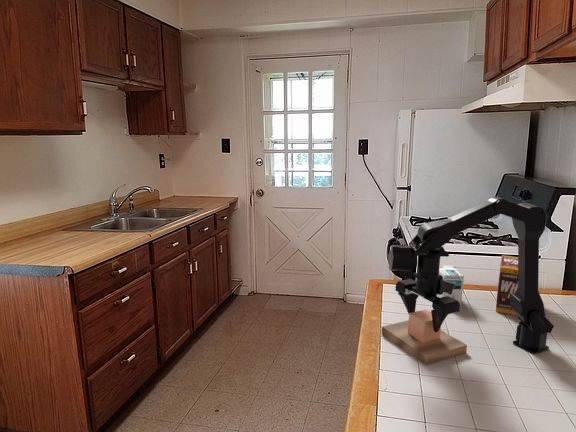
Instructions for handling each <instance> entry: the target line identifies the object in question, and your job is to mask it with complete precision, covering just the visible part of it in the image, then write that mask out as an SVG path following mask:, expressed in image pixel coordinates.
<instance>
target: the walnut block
mask: <svg viewBox="0 0 576 432" xmlns="http://www.w3.org/2000/svg"><path fill="white" fill-rule="evenodd" d="M408 323H409V319H408V320H403V321H400V322H396V323H391V324H387V325H383V326H381V335H382V336H383V337H385V338H386V339H388V340H389V341H391V342H392V343H394V344H395V345H397V346H398V347H399V348H401V349H402V350H404V351H405V352H407V353H408V354H410V355H411V356H413V357H414V358H415V359H416V360H418V361H419V362H421V363H422V364H424V365H425V366H429V365H431V364H435V363H439V362H441V361H444V360H447V359H452V358H454V357H458V356H461V355H465V354H467V348H468V345H467V344H466V343H464V342H462V341H461V340H459V339H457V338H456V337H454V336H452V335H450V334H448V333H446V332H445V331H443V330H442V329H441V330H440V338H439V339H435V340H431V341H427V342H424V343H423V342H421V341H419V340H418V339H416V338H415V337H413V336H412V335H410V334H409V333H408Z"/></svg>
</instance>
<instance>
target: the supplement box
mask: <svg viewBox="0 0 576 432" xmlns="http://www.w3.org/2000/svg"><path fill="white" fill-rule="evenodd" d="M497 283H498V284H497V292H496V293H497V294H496V301H495V312H497V313H501V314H507V315H512V316H517V315H516V314H515V313H514V312H513V311H512V308H511V307H510V306H509V304H510V295H509V294H510V293H515V292H516V290H517V289H518V256H511V255H501V259H500V266H499V273H498V282H497Z"/></svg>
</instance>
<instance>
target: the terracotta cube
mask: <svg viewBox="0 0 576 432" xmlns="http://www.w3.org/2000/svg"><path fill="white" fill-rule="evenodd" d="M408 320H409V323H408V333H409V334H410V335H412V336H413V337H415V338H416V339H418V340H419V341H421V342H423V343H424V342H427V341H431V340H435V339H439V338H440V330H441V331H442V329H441V328H442V327H440V329H439V331H438V332H434V329H433V322H432V314H431V310H427V309H422V310H418V311H417V310H415V312H412V313H409V314H408Z"/></svg>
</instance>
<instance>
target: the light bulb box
mask: <svg viewBox="0 0 576 432" xmlns="http://www.w3.org/2000/svg"><path fill="white" fill-rule="evenodd" d="M439 274H440V275H442V277H443V279H444V280H447V281H449V282H451V283H454V284H455V286H454V289H453V291H452V294H451V295H450V294H449V293H445V292H443V294H441V295H439V294H437V297H439V298H442V297H446V296H449V297H451V298H453V299H455V300H457V301H458V302H459V303H460V306H462V300H463V291H464V290H463V289H464V281H465V279H464V278H465V276H464V275H463V273H461V272H460V271H459V270H457V268H455V267H454V266H453V265H440V268H439Z"/></svg>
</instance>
